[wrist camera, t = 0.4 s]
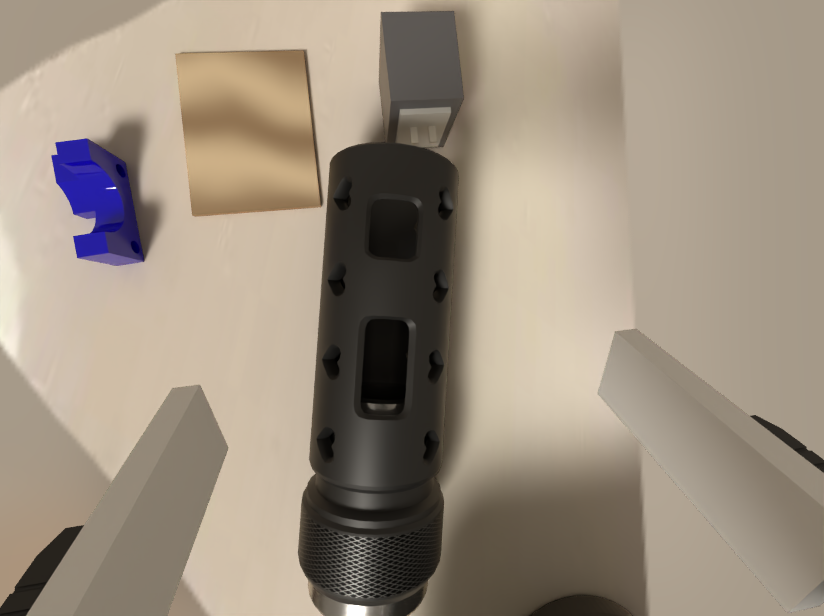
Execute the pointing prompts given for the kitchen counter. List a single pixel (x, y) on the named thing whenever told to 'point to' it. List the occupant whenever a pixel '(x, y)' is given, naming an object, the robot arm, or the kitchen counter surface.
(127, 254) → the cable holder
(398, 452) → the muzzle brake
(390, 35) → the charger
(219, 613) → the kitchen counter surface
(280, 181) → the mat
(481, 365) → the kitchen counter surface
